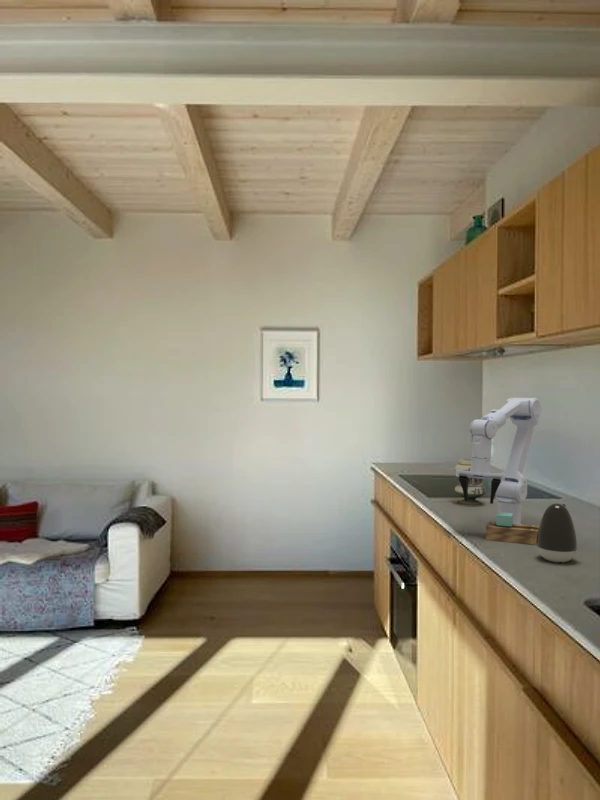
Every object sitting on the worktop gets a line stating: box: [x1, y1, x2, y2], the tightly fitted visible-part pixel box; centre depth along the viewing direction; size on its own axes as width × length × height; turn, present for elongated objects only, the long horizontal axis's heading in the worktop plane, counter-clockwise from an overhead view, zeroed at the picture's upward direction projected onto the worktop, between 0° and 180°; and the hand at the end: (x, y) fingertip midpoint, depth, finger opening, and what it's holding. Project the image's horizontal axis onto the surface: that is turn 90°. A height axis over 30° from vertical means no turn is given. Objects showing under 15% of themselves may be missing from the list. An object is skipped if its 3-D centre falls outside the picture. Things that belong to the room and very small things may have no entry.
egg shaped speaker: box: [535, 503, 579, 563], centre depth 166 cm, size 10×10×15 cm
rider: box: [495, 511, 513, 527], centre depth 189 cm, size 4×5×5 cm
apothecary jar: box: [454, 458, 487, 507], centre depth 247 cm, size 12×12×18 cm
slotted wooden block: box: [485, 521, 539, 546], centre depth 186 cm, size 24×8×6 cm, turn 67°
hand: (478, 502), depth 192 cm, fingers open, 7 cm apart
